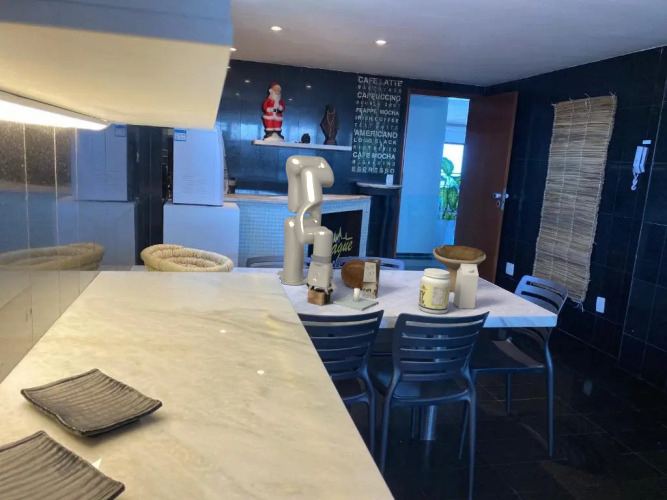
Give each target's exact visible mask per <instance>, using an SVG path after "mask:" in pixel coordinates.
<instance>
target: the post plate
mask: <svg viewBox="0 0 667 500" xmlns="http://www.w3.org/2000/svg"><path fill="white" fill-rule="evenodd" d="M360 294H361V290H360V289H359V288H354V289H353V294H348V295H347V296H346V295H345V296H344V297H342V298H338V299H336V300H333V301H332V304H333V305H336V306H342V307H345V308H350V309H352V310H357V311H361V312H363V311H365V310H368V309H370V308H372V307H374V305H375V306H376V304H377V305H379V300H378V301H377V300H375V299H371V298H367V297H362V296H360ZM371 306H372V307H371ZM369 307H370V308H369ZM367 308H368V309H367Z"/></svg>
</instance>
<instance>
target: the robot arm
mask: <svg viewBox="0 0 667 500" xmlns="http://www.w3.org/2000/svg"><path fill="white" fill-rule="evenodd" d="M285 172H286V176H287V182H288V188H287V209H288V211H289V212H290V213H292V214H296V215H295V216H294V215H292V216H289V217H286V218H285V219H284V221H283V225H282V226H283V234H284V235H283V236H284V243H283V244H284V245H283V246H284V248H283V267H282V268H283V269H282V270H278V272H277V273H276V275H277V276H280V278H279V279H280V280H281V282H282V283H281V284H283V285H288V286H301V285H304V284H305V285H306V287H307V291H309V290H312V289H315V288H321V289H325V292H326V294H325V299H324V303H325V305H327V304H326V303H328V304H330V303H329V302H330V294H331V295H332V293H333V292H334V291H335V290H336V289H337V288H338V285H337V284H336V282H335V281H334V269H333V268H334V267H333V263H332V254H333V253H332V252H333V237H334V233H333V231H332V230H330V229H328V228H327V227H326V226H321V225H322V224H321V223H322V208H323V203H324V197H323V196H324V195H323V188H331V187H333V184H334V183H335V176H334V175H335V174H334V172H333V169H332V168H331V166H330V164H329V163H328V162H327V160H326V159H325V158H324V157H321V156H312V155H303V154H299V155H298V154H295V155H291V156H289V157H288V158H287V160H286V162H285ZM306 214H308V215H309V216H306ZM305 245H313V251H312V252H313V253H312V254H311V255H310V258H312V260H311V261H310V263H309V268H308V272H307V274H308V275H307V276H306V277H305V278H303V277H304V265H305Z"/></svg>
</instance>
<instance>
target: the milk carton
mask: <svg viewBox="0 0 667 500" xmlns="http://www.w3.org/2000/svg"><path fill="white" fill-rule="evenodd" d="M478 270H479V269H478V266H477V264H461V266H460V267H459V269H458V270H457V277H456V286H455V292H454V295H453V304H454V305H455V307H456V308H458V309H470V310H473V309H475V308H476V299H477V292H478V284H479V271H478Z"/></svg>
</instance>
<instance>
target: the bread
mask: <svg viewBox="0 0 667 500" xmlns="http://www.w3.org/2000/svg"><path fill="white" fill-rule="evenodd" d="M364 269H365V261H364V260H361V259H350V260H349V261H346V262H344V264H343V265H342V267H341V269H340V276H341V277H340V278H341V280H342V282H343V284H344V285H345V286H346V287H347V288H351V289H353V290H354V288H359V289H360V291H363V280H364Z"/></svg>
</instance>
